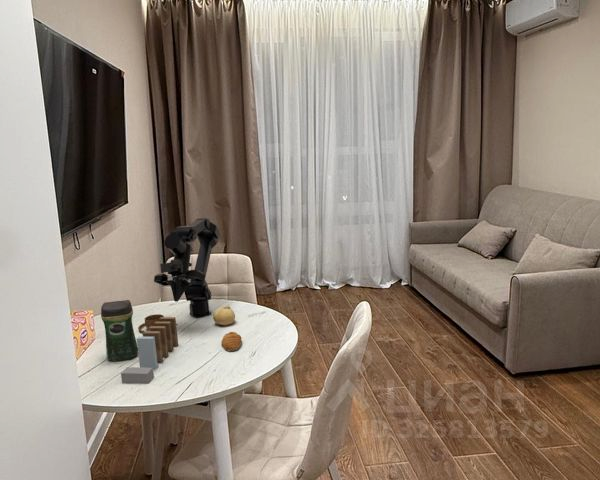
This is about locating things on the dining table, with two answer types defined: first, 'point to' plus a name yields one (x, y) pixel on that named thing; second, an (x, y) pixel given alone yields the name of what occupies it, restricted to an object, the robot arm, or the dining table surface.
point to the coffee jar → (119, 330)
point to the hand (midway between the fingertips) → (176, 301)
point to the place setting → (150, 321)
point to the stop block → (137, 375)
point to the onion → (224, 316)
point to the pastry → (231, 341)
